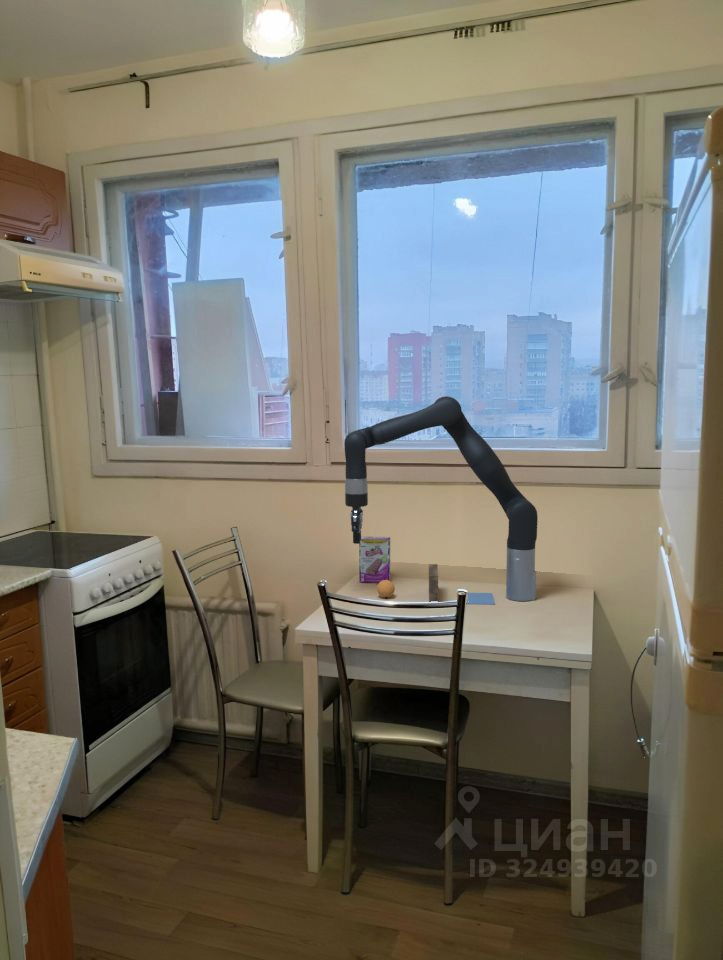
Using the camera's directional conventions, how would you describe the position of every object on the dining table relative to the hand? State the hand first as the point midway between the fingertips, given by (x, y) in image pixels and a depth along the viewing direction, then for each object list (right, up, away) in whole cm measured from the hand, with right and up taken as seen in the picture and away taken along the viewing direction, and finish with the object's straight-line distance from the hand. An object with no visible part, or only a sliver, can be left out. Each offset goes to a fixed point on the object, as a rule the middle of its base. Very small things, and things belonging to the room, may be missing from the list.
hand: (357, 541), depth 237 cm
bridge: (+26, -19, 0) cm, 32 cm away
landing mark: (+40, -19, -1) cm, 44 cm away
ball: (+10, -16, +1) cm, 19 cm away
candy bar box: (+6, -17, +21) cm, 28 cm away
